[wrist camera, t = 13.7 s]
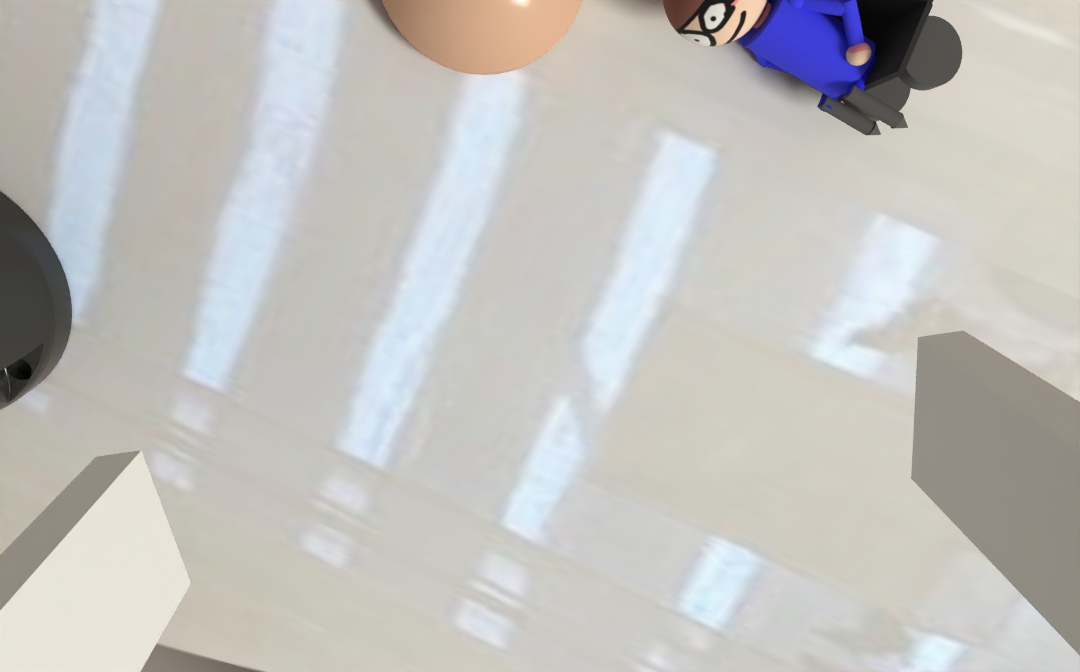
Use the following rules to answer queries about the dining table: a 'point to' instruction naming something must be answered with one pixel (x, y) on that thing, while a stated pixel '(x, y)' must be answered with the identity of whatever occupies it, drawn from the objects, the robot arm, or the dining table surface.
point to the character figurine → (835, 48)
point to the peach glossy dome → (483, 30)
